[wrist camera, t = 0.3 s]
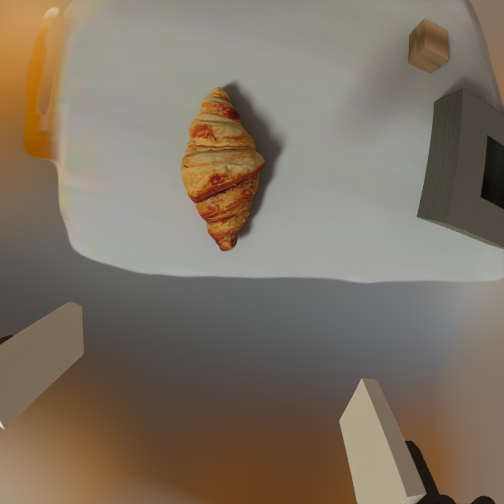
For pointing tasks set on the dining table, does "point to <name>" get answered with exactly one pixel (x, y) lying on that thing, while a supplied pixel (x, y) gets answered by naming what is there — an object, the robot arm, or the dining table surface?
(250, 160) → the croissant
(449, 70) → the dining table surface
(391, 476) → the robot arm
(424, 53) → the brown block
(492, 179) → the box
